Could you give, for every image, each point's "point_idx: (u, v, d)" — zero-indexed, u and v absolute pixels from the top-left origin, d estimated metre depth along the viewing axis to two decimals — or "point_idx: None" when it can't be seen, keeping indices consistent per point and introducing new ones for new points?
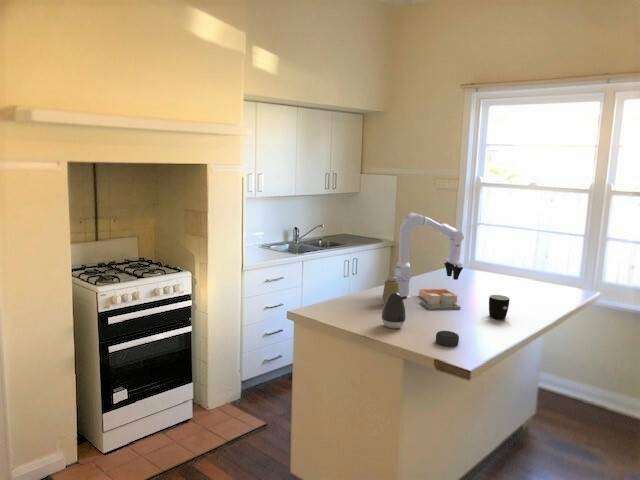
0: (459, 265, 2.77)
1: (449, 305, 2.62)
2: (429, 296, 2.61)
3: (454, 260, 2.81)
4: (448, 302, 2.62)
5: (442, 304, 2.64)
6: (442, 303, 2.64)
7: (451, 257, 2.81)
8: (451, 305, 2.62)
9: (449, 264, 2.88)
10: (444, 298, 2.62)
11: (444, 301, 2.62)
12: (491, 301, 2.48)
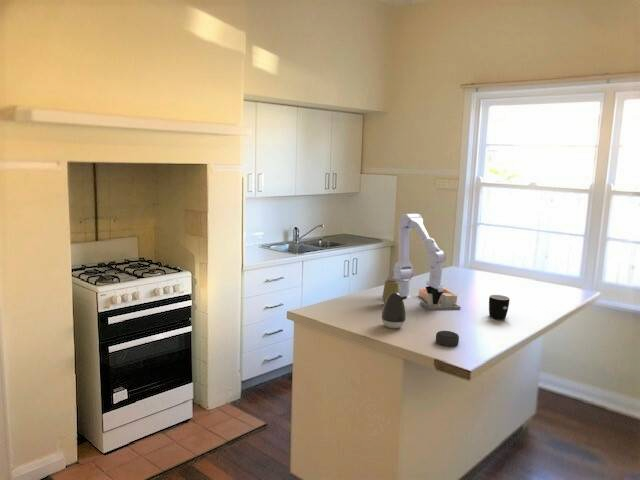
0: (440, 290, 2.54)
1: (449, 305, 2.62)
2: (429, 296, 2.61)
3: (435, 284, 2.58)
4: (448, 302, 2.62)
5: (442, 304, 2.64)
6: (442, 303, 2.64)
7: (431, 280, 2.58)
8: (451, 305, 2.62)
9: (431, 288, 2.63)
10: (444, 298, 2.62)
11: (444, 301, 2.62)
12: (491, 301, 2.48)
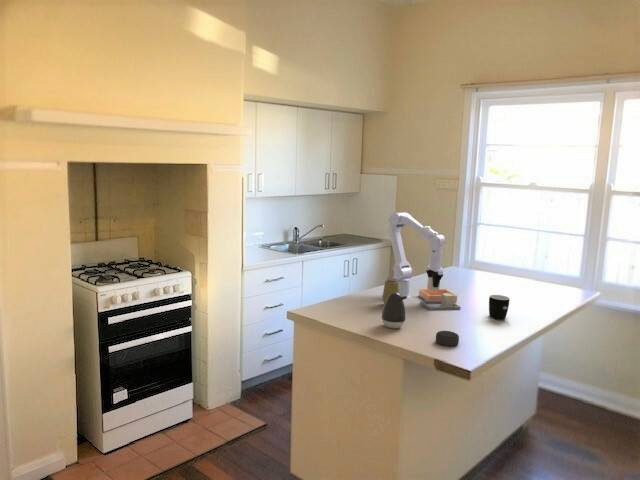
0: (440, 273, 2.58)
1: (449, 305, 2.62)
2: (429, 279, 2.65)
3: (435, 267, 2.62)
4: (448, 302, 2.62)
5: (442, 304, 2.64)
6: (442, 303, 2.64)
7: (432, 264, 2.63)
8: (451, 305, 2.62)
9: (431, 272, 2.68)
10: (444, 298, 2.62)
11: (444, 301, 2.62)
12: (491, 301, 2.48)
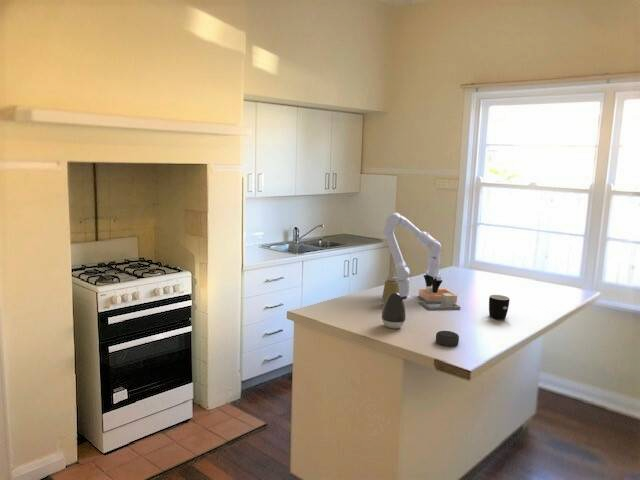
0: (438, 278, 2.68)
1: (449, 305, 2.62)
2: (428, 289, 2.76)
3: (433, 273, 2.72)
4: (448, 302, 2.62)
5: (442, 304, 2.64)
6: (442, 303, 2.64)
7: (430, 270, 2.73)
8: (451, 305, 2.62)
9: (429, 277, 2.79)
10: (444, 298, 2.62)
11: (444, 301, 2.62)
12: (491, 301, 2.48)
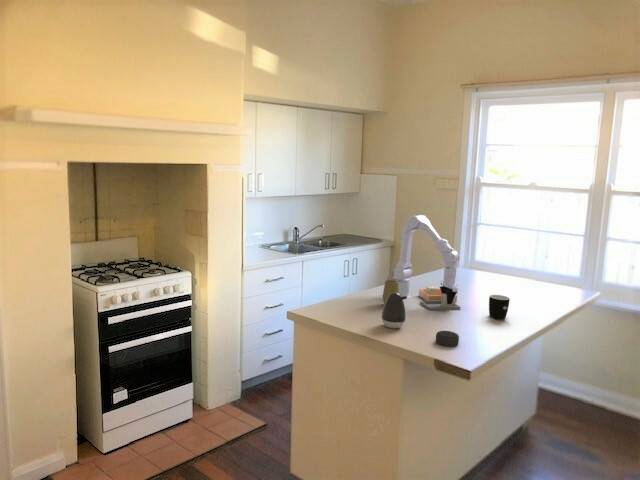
0: (454, 289, 2.55)
1: (449, 305, 2.62)
2: (428, 289, 2.76)
3: (449, 284, 2.59)
4: None
5: (442, 304, 2.64)
6: (442, 303, 2.64)
7: (446, 280, 2.60)
8: (451, 305, 2.62)
9: (445, 288, 2.65)
10: (444, 298, 2.62)
11: (444, 301, 2.62)
12: (491, 301, 2.48)
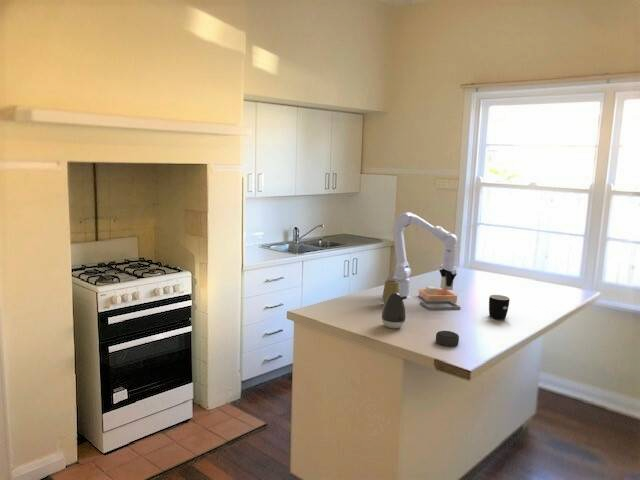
0: (453, 272, 2.61)
1: (448, 287, 2.68)
2: (428, 289, 2.76)
3: (448, 266, 2.65)
4: None
5: (442, 287, 2.70)
6: (442, 286, 2.70)
7: (445, 263, 2.66)
8: (450, 287, 2.68)
9: (445, 271, 2.71)
10: (443, 281, 2.68)
11: (443, 283, 2.68)
12: (491, 301, 2.48)
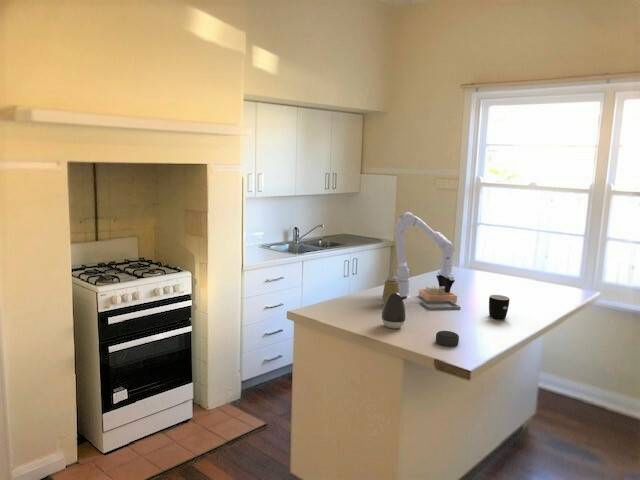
0: (451, 278, 2.70)
1: None
2: (428, 289, 2.76)
3: (446, 273, 2.74)
4: None
5: None
6: None
7: (443, 270, 2.74)
8: None
9: (441, 277, 2.80)
10: (441, 291, 2.77)
11: (441, 293, 2.77)
12: (491, 301, 2.48)
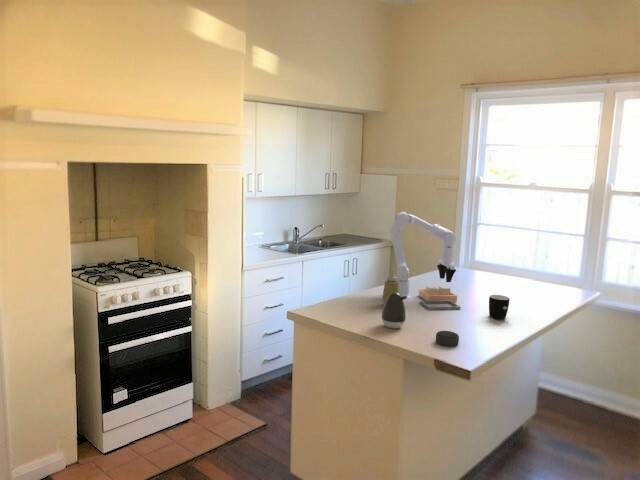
0: (452, 267, 2.69)
1: None
2: (428, 289, 2.76)
3: (447, 262, 2.73)
4: None
5: None
6: None
7: (444, 259, 2.73)
8: None
9: (442, 266, 2.80)
10: (441, 291, 2.77)
11: (441, 293, 2.77)
12: (491, 301, 2.48)
